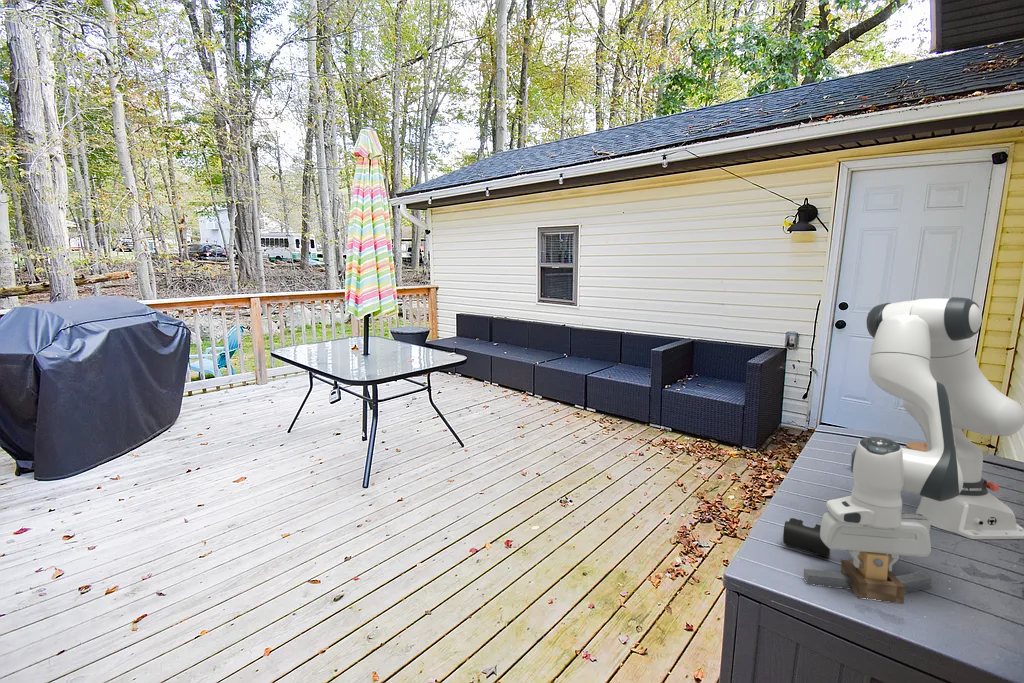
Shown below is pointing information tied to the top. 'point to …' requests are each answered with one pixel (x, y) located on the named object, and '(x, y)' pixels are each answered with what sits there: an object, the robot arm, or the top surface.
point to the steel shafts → (844, 580)
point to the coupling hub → (874, 585)
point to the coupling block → (874, 565)
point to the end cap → (804, 537)
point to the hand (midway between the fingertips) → (871, 568)
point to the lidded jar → (917, 446)
